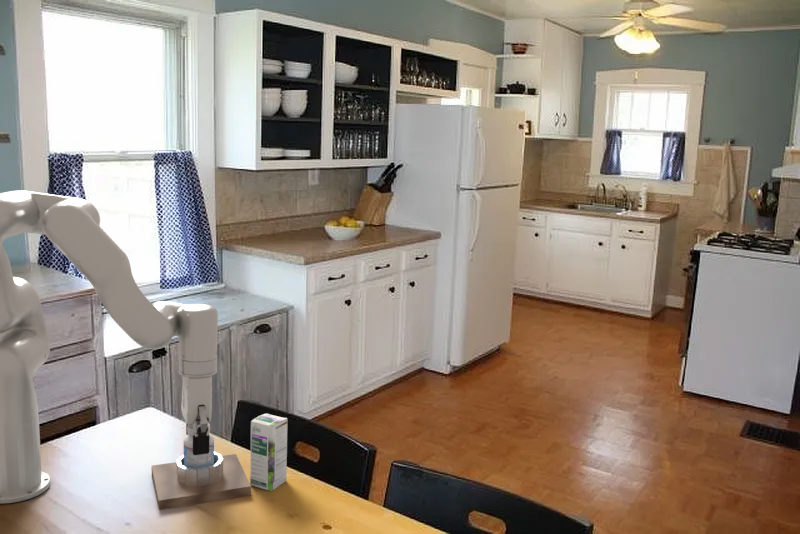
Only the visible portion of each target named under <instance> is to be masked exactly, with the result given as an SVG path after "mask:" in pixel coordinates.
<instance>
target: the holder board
mask: <svg viewBox="0 0 800 534" xmlns="http://www.w3.org/2000/svg"><path fill="white" fill-rule="evenodd" d="M222 458H223V476H222V477H221V479H220V480H219V481H216V482H214V483H212V484H209V485H204V486H187V485H184V484H182V483H180V482H178V480H177V470H176V461H174V462H169V463H161V464H154V465H153V464H152V465H151V477H152V481H153V482H152V483H153V487H154V493H155V499H156V502H157V507H158V511H161V510H167V509H174V508H180V507H186V506H192V505H199V504H206V503H211V502H217V501H224V500H229V499H230V500H231V499H236V498H242V497H247V496H252V486H251V485H250V481H249V479H248V477H247V475H246V473H245V471H244V469H243V466H242V464H241V462H240V460H239V457H238V455H237V454H236V453H232V454H227V455H226V454H225V455H222Z"/></svg>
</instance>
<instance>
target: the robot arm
mask: <svg viewBox="0 0 800 534" xmlns="http://www.w3.org/2000/svg"><path fill="white" fill-rule="evenodd" d="M100 224H101V217H100V213H99V211H98V209H97V208H96V207H95V205H93V204H92V203H91V202H90V201H88V200H86V199H83V198H79V197H75V196H73V197H72V196H66V195H65V196H64V195H59V194H58V195H57V194H50V193H45V192H36V191H30V190H29V191H28V190H9V191H5V192H0V504H12V503H19V502H24V501H26V500H30V499H33V498H35V497H37V496H39V495H41V494H43V493H44V492H45V491H46V490H48V489H49V488H50V486H51V477H50V474H48V473H47V472H44V471H42V456H41V455H42V453H41V439H40V438H41V437H40V435H41V434H40V417H39V403H38V395H37V391H36V389H35V384H34V380H33V379H34V378H33V376H34V374H35V373H36V372H37V371H38V370H39V369H40V368H41V367H42V366H43V365H44V364H45V363H46V362H47V360H48V358H49V356H50V353H51V352H50V351H51V344H50V336H49V333H48V328H47V324H46V320H45V319H46V318H45V315H44V312H43V311H44V310H43V307H42V303H41V299H40V296H39V293H38V292H37V290H36V289H35V287H34V286H33V284H31V283H30V282H29V281H27V280H26V279H25V278H22V277H17V276H13V271H12V266H11V262H10V258H9V256H8V254H7V252H6V250H5V248H4V246H3V242H4V241H5V240H6V239H8V238H9V239H10V238H11V237H14V236H18V235H21V234H23V233H24V234H25V233H27V234H35V235H36V234H37V235H44V236H46V238H47V239H48V240H49V241H50V242H51V243H52V244H53V245H54V246H55V247H56V248H57V250H59V252H61V253H62V255H63V256H64V257H66V258H67V259H68V261H70V263H72V265H73V266H74V267H76V269H77V270H79V272H80V273H81V274H82V276H84V278H86V279H87V281H88V282H89V283H90V284H91V286H93V289H94V291H95V294H96V295H97V298H99V300H100V301H101V303H102V305H103V307H104V308H105V310H106V312H107V313H108V315H110V318H112V320H113V321H114V323H116V324H117V326H119V327H120V328H121V329H122V330H123V331H124V332H125V333H126V335H127V336H128V337H129V338H130V339H131V340H132V341H134V342H135V343H136V344H137V345H139V346H141V347H142V348H145V349H148V350H158V349H162V348H163V347H165V346H166V345H168V344H169V343H170V342H171V340H172V339H173V338H174V337H178V374H179V375H180V376H182V382H181V383H182V385H181V405H180V406H181V407H180V410H181V413H182V416H183V419H184V422H185V426H186V427H185V430H186V431H185V432H186V433H185V435H186V436H187V435H188V433H187V426H188V425H190V424H193V425H194V436H193V455H201V454H208V453H209V433H210V432H209V427H208V423H209V424H210V422H211V421H212V413H213V411H212V405H213V394H212V393H213V391H212V390H213V384H212V383H213V382H212V381H213V378H212V377H213V376H215V375H216V374H217V373H218V335H219V334H218V328H219V327H218V326H219V325H218V324H219V323H218V322H219V321H218V320H219V319H218V318H219V315H218V311H217V309H216V307H214V306H213V305H210V304H204V303H194V304H193V303H192V304H186V303H184V304H183V303H179V302H173V301H167V300H158V301H155V302H151V301H150V300H149V299H148V297H146V295H145V294H144V293H143V292H142V291H141V289H140V287H139V286H138V284H137V282H136V280H135V279H134V276H133V272H132V267H131V263H130V260H129V257H128V256H127V254H126V253H125V252H124V250H122V249H121V247H120V246H119V245H118V244H117V243H116V242H115V241H114V240H113V239H112V238H111V237H110V235H108V234H107V233H106V232H105V231H104V229H103V228H101V225H100ZM197 425H200V427H198V429H197Z"/></svg>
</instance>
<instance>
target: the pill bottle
mask: <svg viewBox="0 0 800 534" xmlns="http://www.w3.org/2000/svg"><path fill="white" fill-rule="evenodd" d="M198 427H200V425H197V429H198ZM208 427H209V453H208V454H201V455H193V436H194V425H193V424H190V425H188V426H187V433H188V435H186V436H185V437H184V438H183V455H184V466H185V467H188V468H197V469H198V468H205V467H209V466H212V465H214V452H215V438H214V436H213V435H212V434H211V433H210V431H211V424H210V422H209V423H208Z"/></svg>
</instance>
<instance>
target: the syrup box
mask: <svg viewBox="0 0 800 534" xmlns="http://www.w3.org/2000/svg"><path fill="white" fill-rule="evenodd" d="M287 457H288V418H287V417H283V416H282V417H281V416H277V415H273V414H270V413H263V414H261V415H258V416H257V417H254V418H253V419H252V420H251V421H250V477H249V480H250V481H249V483H250V485H251V487H255V488H260V489H262V490H266V491H269V492H273V491H275V490H276V489H277V488H279V487H280V486H282V484H284V483H286V481H287V468H288V467H287V466H288V465H287V463H288V462H287V460H288V459H287Z"/></svg>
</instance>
